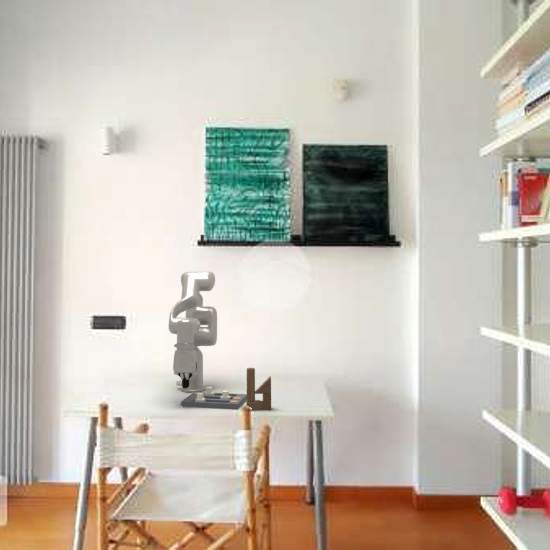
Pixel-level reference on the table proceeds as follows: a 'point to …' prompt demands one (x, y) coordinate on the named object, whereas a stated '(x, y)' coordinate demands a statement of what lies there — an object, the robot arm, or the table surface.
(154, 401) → the table surface
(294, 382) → the table surface
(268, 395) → the brown notched upright part
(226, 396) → the tab mid
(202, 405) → the switch board
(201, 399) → the tab near
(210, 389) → the tab far
